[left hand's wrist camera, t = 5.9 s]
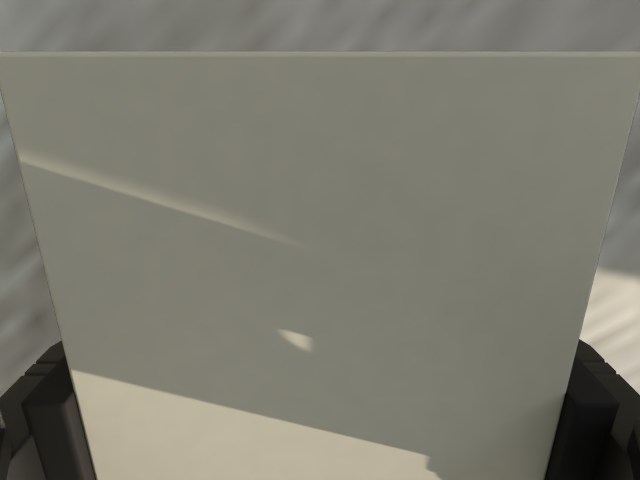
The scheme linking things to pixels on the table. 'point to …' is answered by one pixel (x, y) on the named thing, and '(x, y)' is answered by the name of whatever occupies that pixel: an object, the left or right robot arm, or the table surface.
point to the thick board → (320, 252)
